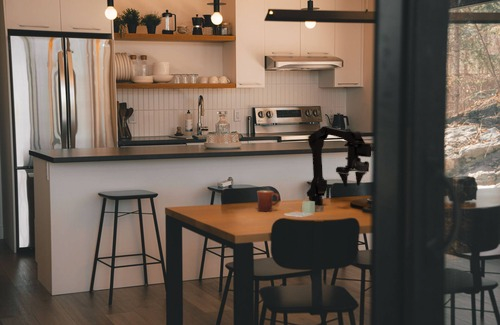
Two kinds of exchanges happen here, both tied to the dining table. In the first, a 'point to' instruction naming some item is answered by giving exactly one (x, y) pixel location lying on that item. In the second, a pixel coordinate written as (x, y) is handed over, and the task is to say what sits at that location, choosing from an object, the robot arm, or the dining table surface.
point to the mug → (266, 200)
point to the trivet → (298, 214)
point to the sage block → (308, 207)
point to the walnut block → (319, 208)
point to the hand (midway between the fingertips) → (351, 186)
